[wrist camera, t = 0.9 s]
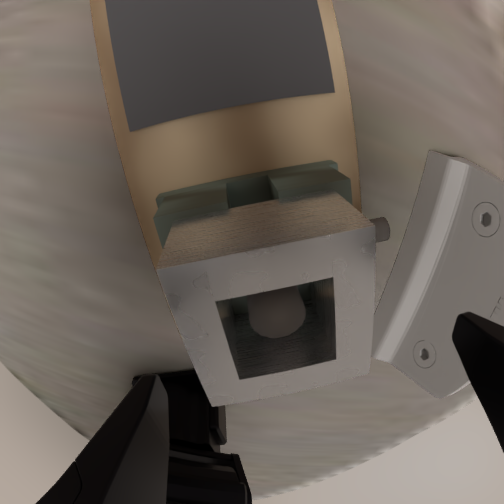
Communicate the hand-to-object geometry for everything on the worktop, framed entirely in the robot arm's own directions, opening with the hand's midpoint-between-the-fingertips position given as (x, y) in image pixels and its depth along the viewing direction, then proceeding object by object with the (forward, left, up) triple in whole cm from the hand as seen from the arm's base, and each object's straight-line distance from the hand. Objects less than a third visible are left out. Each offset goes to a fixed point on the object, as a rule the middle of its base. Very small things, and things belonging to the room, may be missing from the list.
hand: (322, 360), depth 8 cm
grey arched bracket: (+12, -6, -12) cm, 19 cm away
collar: (-1, 0, -6) cm, 6 cm away
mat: (-1, +12, -10) cm, 15 cm away
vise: (-1, +6, -12) cm, 13 cm away
